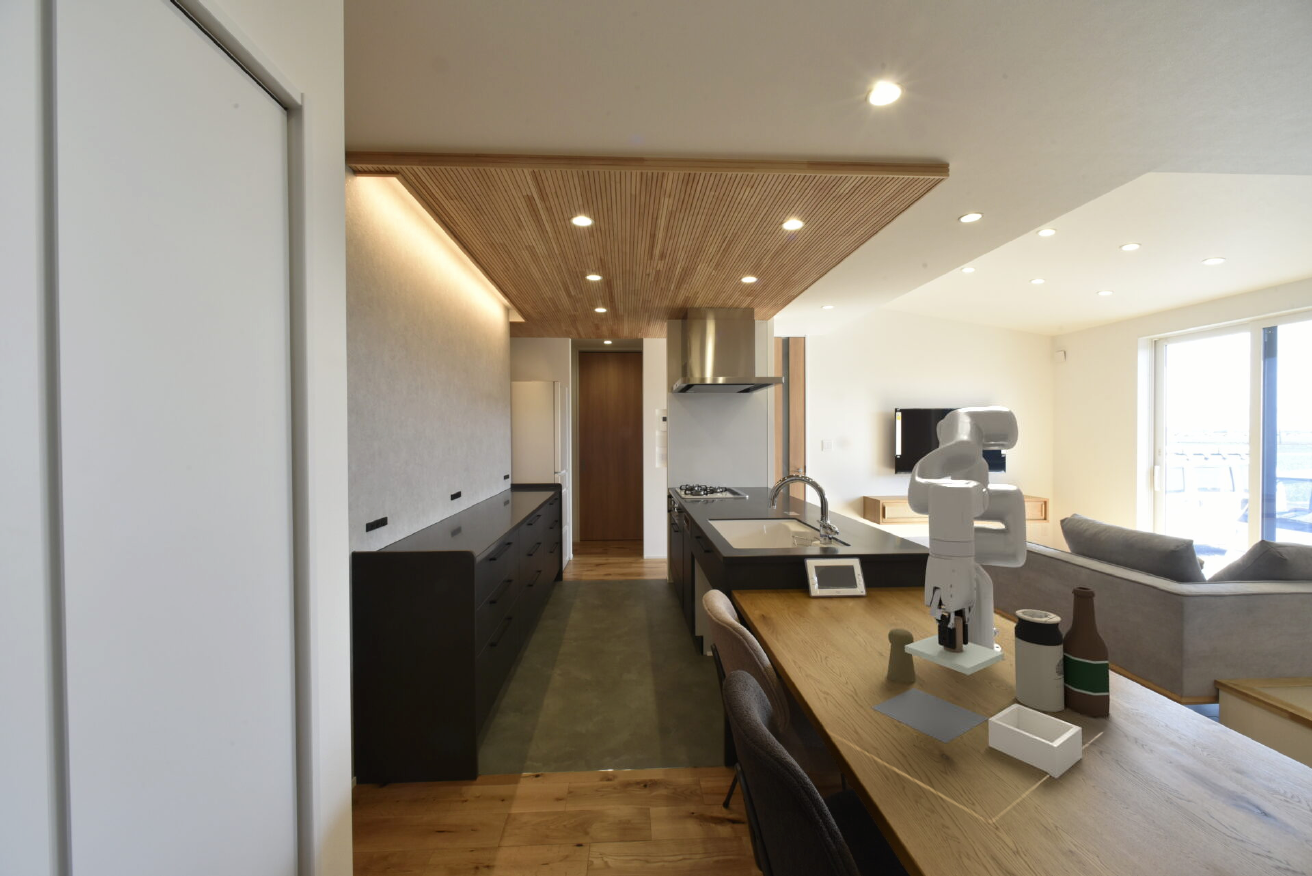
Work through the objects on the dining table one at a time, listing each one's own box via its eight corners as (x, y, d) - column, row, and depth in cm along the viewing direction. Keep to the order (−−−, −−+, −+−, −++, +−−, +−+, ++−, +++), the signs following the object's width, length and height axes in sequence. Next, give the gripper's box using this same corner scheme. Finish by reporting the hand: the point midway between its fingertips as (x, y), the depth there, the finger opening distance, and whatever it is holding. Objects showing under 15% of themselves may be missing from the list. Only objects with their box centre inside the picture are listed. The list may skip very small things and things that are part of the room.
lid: (940, 639, 107) (939, 604, 107) (1003, 659, 97) (1002, 620, 97) (904, 651, 101) (904, 614, 101) (968, 674, 91) (967, 633, 91)
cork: (919, 686, 114) (918, 636, 114) (890, 684, 116) (889, 634, 116) (912, 674, 120) (911, 626, 120) (884, 672, 121) (883, 625, 122)
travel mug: (1007, 698, 108) (1005, 611, 109) (1031, 691, 112) (1029, 606, 112) (1048, 716, 101) (1046, 623, 101) (1073, 708, 104) (1071, 618, 104)
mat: (914, 689, 113) (914, 687, 113) (988, 720, 100) (988, 718, 100) (871, 709, 105) (870, 707, 105) (946, 745, 92) (945, 743, 92)
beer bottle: (1100, 702, 106) (1097, 584, 107) (1120, 721, 99) (1117, 595, 99) (1054, 696, 109) (1052, 581, 109) (1070, 715, 101) (1068, 592, 102)
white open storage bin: (1015, 730, 97) (1015, 703, 97) (1082, 757, 88) (1081, 727, 88) (988, 747, 91) (988, 719, 91) (1056, 778, 83) (1055, 746, 83)
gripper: (955, 540, 107) (957, 630, 107) (906, 549, 98) (908, 647, 98) (994, 546, 100) (996, 642, 100) (946, 557, 92) (948, 661, 92)
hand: (953, 643), depth 99 cm, fingers closed on lid, 3 cm apart
